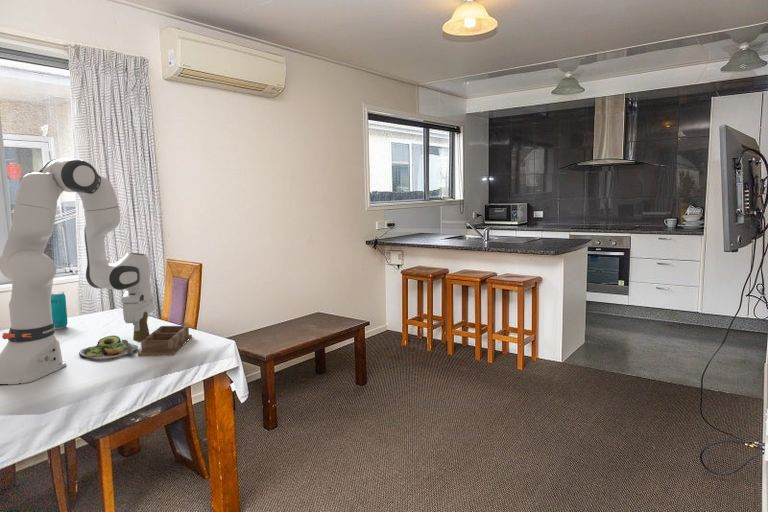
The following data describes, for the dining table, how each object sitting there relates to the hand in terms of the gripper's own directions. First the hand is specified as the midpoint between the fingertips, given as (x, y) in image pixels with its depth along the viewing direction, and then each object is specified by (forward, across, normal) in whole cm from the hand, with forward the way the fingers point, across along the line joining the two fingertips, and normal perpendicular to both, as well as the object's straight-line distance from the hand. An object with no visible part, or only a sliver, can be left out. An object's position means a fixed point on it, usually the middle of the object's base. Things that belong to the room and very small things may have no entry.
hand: (141, 328), depth 194 cm
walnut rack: (+4, +10, +13) cm, 17 cm away
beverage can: (+4, -17, -40) cm, 44 cm away
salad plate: (+5, +16, -5) cm, 17 cm away
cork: (+4, 0, 0) cm, 4 cm away
